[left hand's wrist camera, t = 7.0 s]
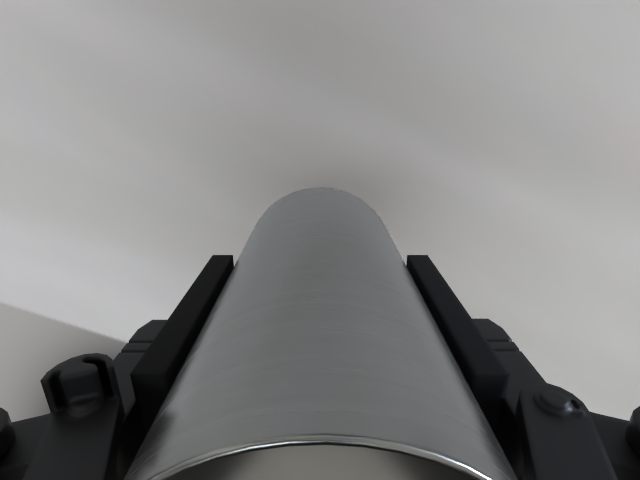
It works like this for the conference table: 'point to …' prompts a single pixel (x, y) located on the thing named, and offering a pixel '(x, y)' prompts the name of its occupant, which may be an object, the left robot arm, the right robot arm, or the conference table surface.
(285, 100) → the conference table surface
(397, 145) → the conference table surface
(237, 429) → the can
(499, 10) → the conference table surface
